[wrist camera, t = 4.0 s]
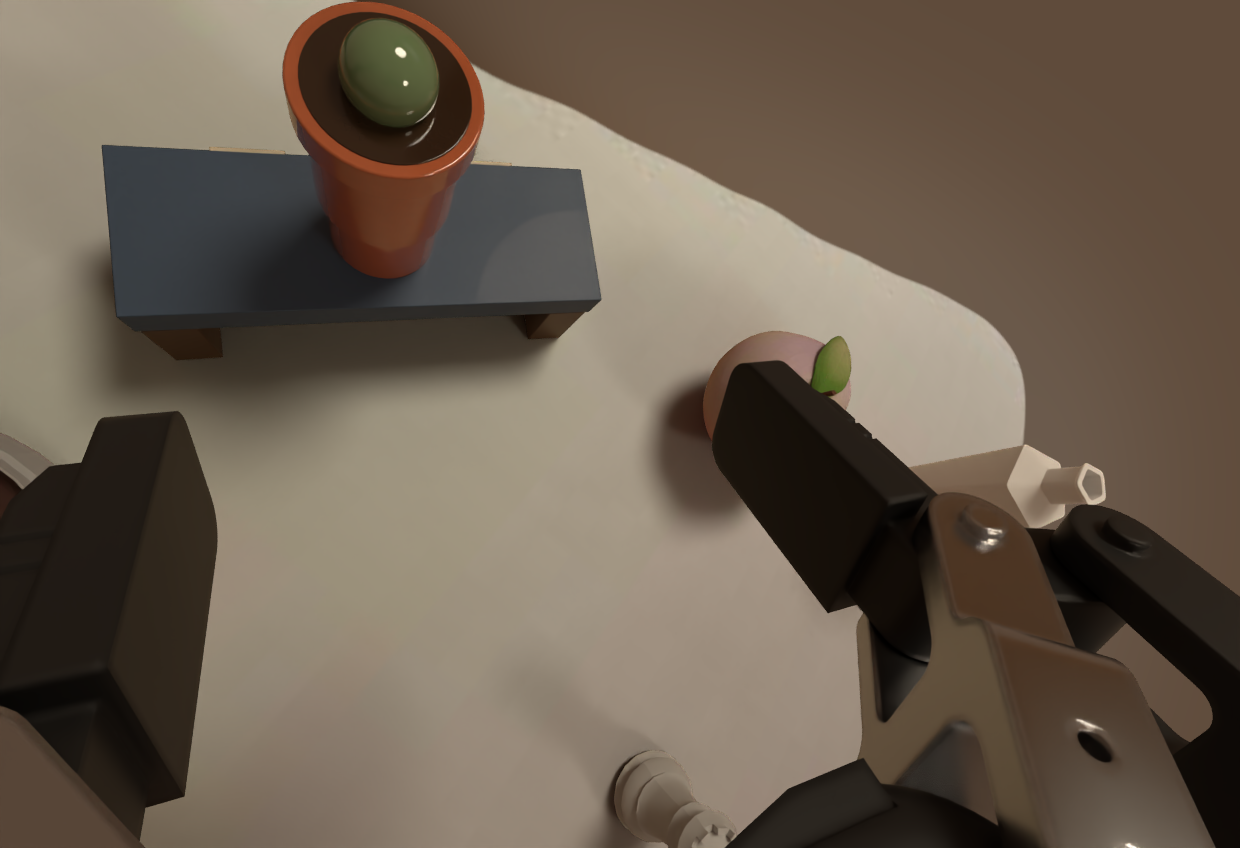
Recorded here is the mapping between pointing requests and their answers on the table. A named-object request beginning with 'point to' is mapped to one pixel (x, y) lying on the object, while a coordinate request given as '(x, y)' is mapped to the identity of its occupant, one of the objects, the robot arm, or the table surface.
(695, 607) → the table surface
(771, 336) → the decorative fruit
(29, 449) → the wedge shaped tart
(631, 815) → the rook chess piece
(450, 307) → the dark blue bench
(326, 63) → the pot
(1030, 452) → the perfume bottle
